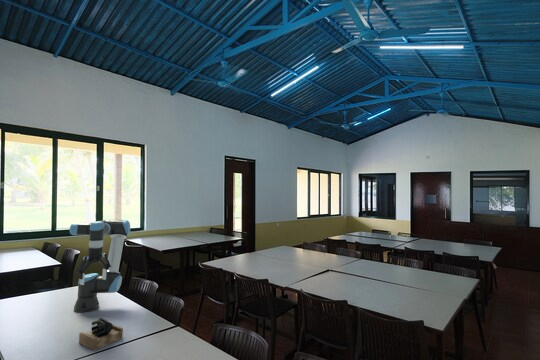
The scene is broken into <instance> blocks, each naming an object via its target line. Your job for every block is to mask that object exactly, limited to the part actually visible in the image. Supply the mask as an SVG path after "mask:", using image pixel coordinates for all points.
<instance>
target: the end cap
mask: <svg viewBox="0 0 540 360" xmlns="http://www.w3.org/2000/svg"><path fill="white" fill-rule="evenodd" d="M94 324H97V326H94V327H92V325H94ZM112 324H113V323H112V322H110V321H109V320H107V319H105V318H103V317H99V318H98V320H93V321H92V322H91V331H92V334H94V335H95V336H97V337H98V338H100V337H103V336H106V335H108V334H109V333H110V332H111V330H112V328H113V325H114V324H113V325H112Z"/></svg>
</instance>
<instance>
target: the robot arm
mask: <svg viewBox="0 0 540 360" xmlns="http://www.w3.org/2000/svg"><path fill="white" fill-rule="evenodd" d="M69 234H70V235H72V236H89V237H88V239H89V240H88V247H89V248H88V251H87V252H88V256H85V255H84V256H82V259H81V262H80V264H79V265H78V268H77V270H76V271H75V273H76V274H79V276H78V283H77V284H78V285H77V286H78V287H77V299H76V301H75V303H74V305H73V311H74V312H76V313H87V312H92V311H95V310H97V309H98V308H99V307H100V301H99V298H98V294H114V293H117V292H118V291H119V290H120V289H121V288H120V287H121V285H122V282H123V281H122V280H123V277H122V275H121V272H119V269H120V263H121V259H122V253H123V247H124V242H125V240H126V239H127V238H128V236H130V235H131V222H130V221H129V220H128V219H103V220H98V221H92V222H80V223H79V222H76V223H75V222H74V223H71V225H70V227H69ZM105 235H106V236H109V237H110V238H111V240H110V247H109V251H108V254H107V253H105V252H103V247H104V236H105ZM102 258H103V259H102ZM94 263H99V264H100V265H101V266H102V267H103V268H102V273H101V275H99V273H95V272H94V273H88V274H85V272H86V270H87V269H88V268H89V267H90V265H92V264H94Z"/></svg>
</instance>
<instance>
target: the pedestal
mask: <svg viewBox="0 0 540 360" xmlns="http://www.w3.org/2000/svg"><path fill="white" fill-rule="evenodd" d="M112 325H113V328H112V330H111V332H110V333H109V334H108V335H106V336H103V337H100V338H98V337H97V336H95V335H94V334H92V330H91V331H88V332H83V331H81V332H79V337H78V338H79V339H78V344H80V345H83V346H85V347H87V348H89V349H91V350H93V351H96V350H98V349H100V348H103V347H105V346H108V345H110V344H112V343H114V342H117V341H119V340H121V339H123V334H124V332H123V331H124V327H121V326H118V325H115V324H113V323H112Z"/></svg>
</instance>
